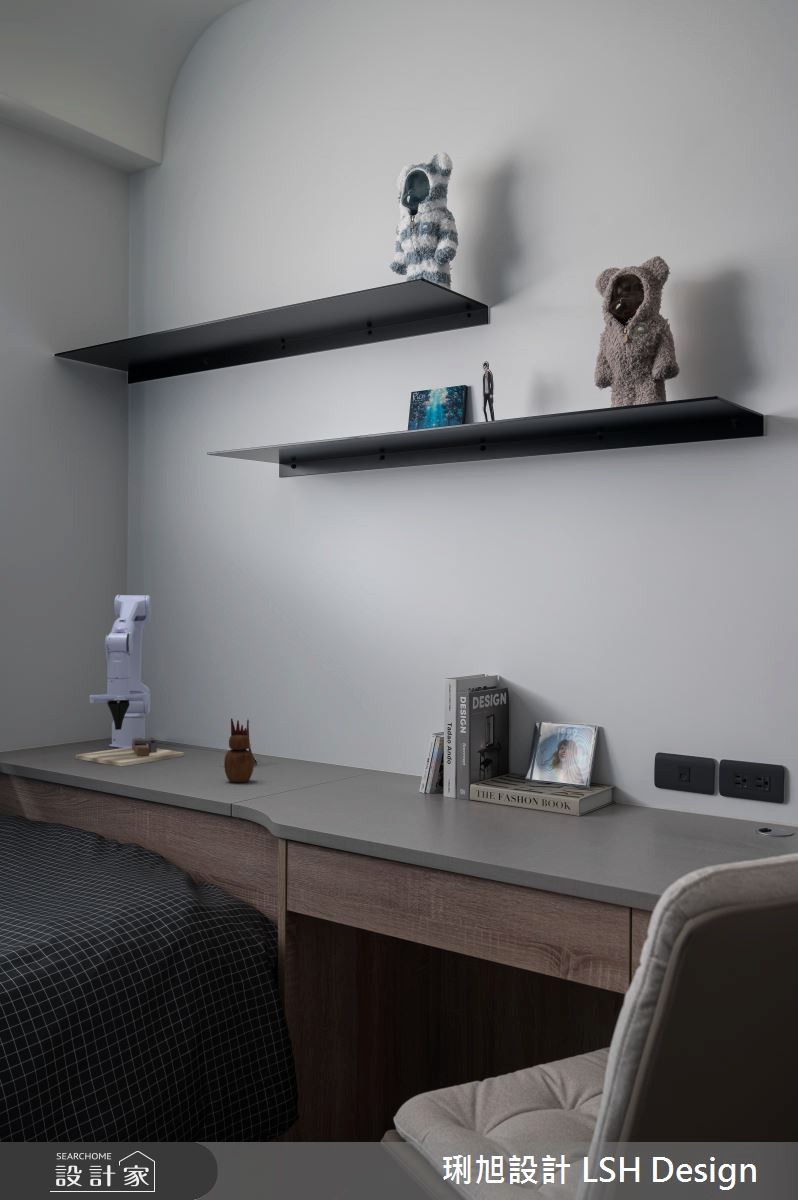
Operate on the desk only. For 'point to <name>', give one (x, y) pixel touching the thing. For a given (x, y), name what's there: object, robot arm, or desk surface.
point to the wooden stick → (140, 748)
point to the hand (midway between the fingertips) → (118, 729)
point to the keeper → (151, 743)
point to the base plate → (127, 756)
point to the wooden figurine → (238, 756)
